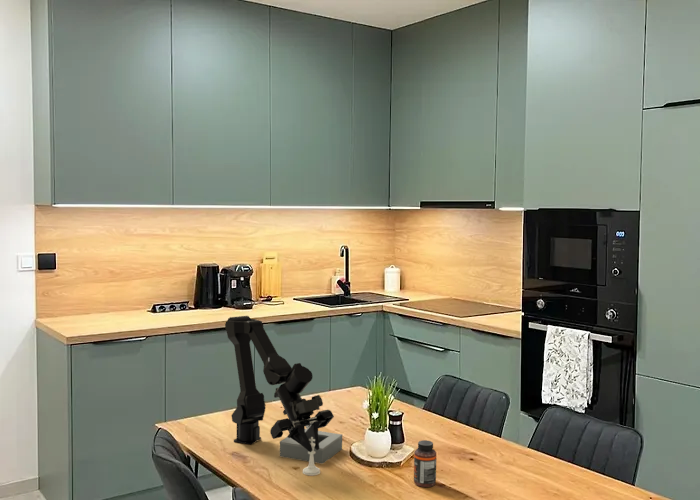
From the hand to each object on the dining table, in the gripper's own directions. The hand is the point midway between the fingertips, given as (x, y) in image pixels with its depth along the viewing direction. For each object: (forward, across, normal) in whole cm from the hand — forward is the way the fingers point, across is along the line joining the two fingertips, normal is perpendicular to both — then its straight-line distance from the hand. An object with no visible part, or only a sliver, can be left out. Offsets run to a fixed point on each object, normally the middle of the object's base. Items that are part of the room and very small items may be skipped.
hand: (314, 450), depth 192 cm
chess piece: (+4, 0, +6) cm, 7 cm away
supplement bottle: (+21, +20, -12) cm, 31 cm away
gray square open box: (-5, +9, +15) cm, 18 cm away
